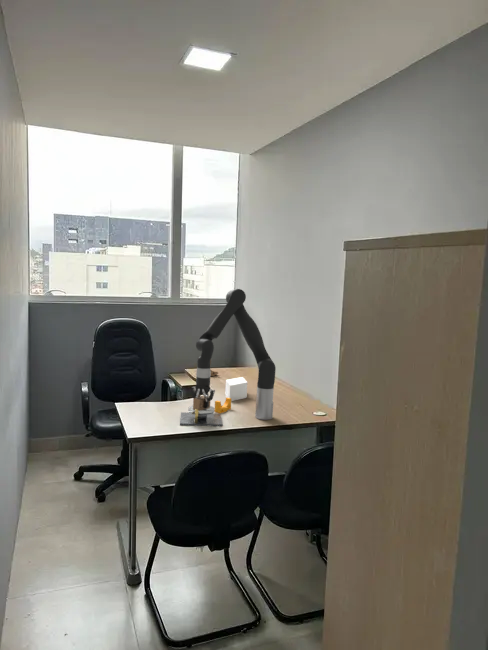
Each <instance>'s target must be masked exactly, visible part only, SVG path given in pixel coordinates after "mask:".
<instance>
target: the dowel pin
mask: <svg viewBox="0 0 488 650" xmlns="http://www.w3.org/2000/svg"><path fill="white" fill-rule="evenodd" d="M195 423H198V409H195Z"/></svg>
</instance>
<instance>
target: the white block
mask: <svg viewBox="0 0 488 650" xmlns="http://www.w3.org/2000/svg"><path fill="white" fill-rule="evenodd" d="M247 394H248V381H247V380H246V378H245V377H243V376H241V377H233V378H229V379H225V394H224V396H225V397H226V398H231V402H233V401H238V400H242V399H243V400H244V399H246V398H248V397H247V396H248V395H247Z"/></svg>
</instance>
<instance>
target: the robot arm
mask: <svg viewBox="0 0 488 650" xmlns="http://www.w3.org/2000/svg"><path fill="white" fill-rule="evenodd" d="M246 296H247V295H246V292H245V291H244V290H242V289H240V288H234V289H232V290H229V291H228V292H227V294H226V295H225V300H226V304H225V306H224V308H223V309H222V310H221V311H220V313H218V314H217V316H215V317H214V319H213V320H212V322H211V323H210V325H209V326H208V328H207V329H206V331H205V332H203V333H202V334H201V335H200V336H199V337H198V339H197V341H196V343H195V347H196V349H197V351H200V352H201V355H200V356H199V357H197V363H196V364H197V365H196V371H195V372H196V373H195V375H196V376H195V386H192V387H190V392H191V397H192V399H193V398H196V397H200V396H203V395H204V398H205V408H208V406H209V401H210V402H211V401H212V400H213V398H214V395H215V393H216V390H215V389H211V376H210V375H211V371H212V370H211V366H210V364H211V365H212V357H213V354H214V350H215V347H214V346H215V345H214V342H213V340H215V339H218V338H219V336H220V335H221V333H222V332H223V331H224V328H226V325H227V324H228V323H229V321H230V320H231V318H232V317H233V316H234V318H235V320H236V322H237V325H238V326H239V329H240V331H241V332H240V333H242V334H241V335H242V337H243V338H244V340H245V342H246V344H247V346H248V347H249V349H250V351H251V352H252V353H253V356H254V358H255V362H256V364H257V368H258V376H257V383H256V384H257V385H256V398H255V400H256V401H255V416H254V417H255V418H256V419H258V420H266V421H267V420H273V416H274V415H273V413H274V401H273V400H274V389H275V388H274V387H275V381H276V364H275V363H274V361H273V359H272V358H271V356H270V355H269V353H268V351H267V348H266V347H265V344H264V339H263V336H262V334H261V332H260V330H259V329H260V328H259V327H258V325H257V323H256V321H255V320H254V319H253V318H252V317H251V316H250V315H249V313H248V312H247V310H246V307H245V305H244V303H245V302H246ZM210 370H211V371H210Z"/></svg>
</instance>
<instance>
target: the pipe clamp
mask: <svg viewBox="0 0 488 650" xmlns="http://www.w3.org/2000/svg"><path fill="white" fill-rule="evenodd" d="M214 408H215V412H214V413H220V414H224V413H225V412H228V410H231V409H232V401H231V398H227V397H226V398H225V401H224V403H223V405H222V402H221V401H220V400H215V401H214Z"/></svg>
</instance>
